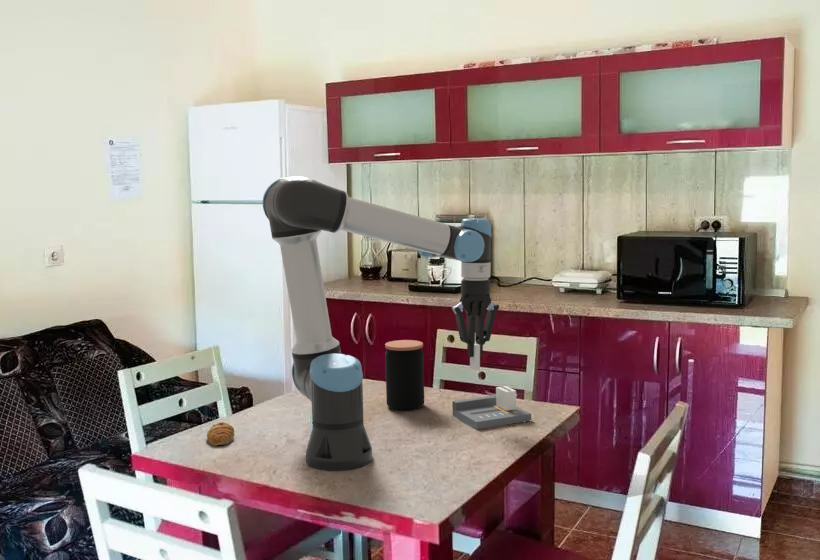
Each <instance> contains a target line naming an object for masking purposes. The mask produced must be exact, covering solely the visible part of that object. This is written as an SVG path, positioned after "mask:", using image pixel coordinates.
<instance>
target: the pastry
mask: <svg viewBox="0 0 820 560" xmlns="http://www.w3.org/2000/svg"><path fill="white" fill-rule="evenodd" d="M206 434H207V435H206V439H207V441H208V442H209V444H210V445H212V446H214V447H215V446H219V445H220V446H221V445H228V444H229V443H231V442H232V441H233V440H234V437H235V428H234V427H233V426H232V425H230V424H229V423H227V422H223V421H222V422H221V421H220V422H216V423H215V424H213V425H212V426H211V427H209V430H208V431H207V433H206Z"/></svg>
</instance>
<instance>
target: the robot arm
mask: <svg viewBox="0 0 820 560" xmlns="http://www.w3.org/2000/svg"><path fill="white" fill-rule="evenodd" d="M262 209H263V212H264V215H265V216H266V218H267V220H268V221H269V223H268V224H269V227H270V232H271V239H272V240H274V241H275V242H276V243H277V244H278V245H279V247H280V254H281V258H282V264H283V270H284V276H285V281H286V283H285V284H286V287H287V289H286V290H287V295H288V301H289V307H290V313H291V318H292V322H293V329H294V334H295V335H294V336H295V340H296V342H295V344H294V345H293V347H292V349H291V355H292V362H293V363H292V365H291V377H292V381H293V384H294V385H295V388H296V389H297V390H298V392H299V393H300V394H302V396H304V397H305V398H307V399H308V400H309V401H310V402H311V418H312V419H311V420H312V421H311V423H312V427H311V428H312V429H311V432H310V437H309V439H308V443H307V447H306V450H305V462H306V464H307V465H308V466H309V467H312V468H315V469H318V470H323V471H324V470H325V471H345V470H352V469H356V468H360V467H362V466H365V465H367V464H369V463H370V462H372V460H373V447H372V444H371V442H370V441H371V440H370V438H369V436H368V432H367V430H366V428H365V424H364V420H365V419H364V396H363V395H364V394H363V393H364V390H363V389H364V388H363V378H364V374H363V370H362V364H361V361H360V360H359V359H358V358H356V357H354V356H352V355H350V354H345V353H342V351H341V345H340V341H339V340H338V339H336V338H335V337H333V335H332V328H331V322H330V317H329V311H328V310H329V309H328V305H327V304H328V303H327V298H326V291H325V285H324V279H323V274H322V268H321V267H322V266H321V260H320V255H319V254H320V253H319V250H318V249H319V248H318V244H317V243H318V242H317V238H318V237H319V235H320V234H321V232H322V231H324V232H329V233H333V234H337V233H338V232H340V231H343V232H348V233H351V234H353V235H354V234H355V235H359V236H363V237H365V238H366V237H367V238H370V239H371V238H372V239H374V240H377V241H382V242H385V243H390V244H394V245H398V246H402V247H407V248H410V249H413V250H417V252H418V255H419V256H420V257H422V258H423V257H424V258H431V259H432V258H444V259H449V260H454V261H459V262H461V263H460V264H461V265H460V267H461V269H460V270H461V272H460V273H461V274H460V275H461V277H462V279H461V280H460V284H461V285H460V286H461V287H460V294H461V296H460V298H459V302H458V304H456V305H452V306H451V310H452V313H453V314H454V317H455V320H456V327H457V331H458V334H459V338H460V342H463V343H465V344H466V345H467V347H466V349H467V350H466V352H467V353H466V355H467V357H469V369H472V370H474V371H477V370H478V371H479V370H481V369H480V368H481V357H482V356H483V355H484V354H483V353H484V351H483V350H484V345H485V344H486V342H490V340H491V336H492V330H493V327H494V323H495V319H496V314H497V312H498V311H499V310H500V305H499V304H496V303H495V302H493V301H492V298H491V295H490V294H491V280H490V279H489V278H490V277H491V271H492V270H491V268H492V267H491V265H492V263H491V261H492V259H491V258H492V257H491V255H492V253H491V251H492V238H493V237H492V226H491V225H492V224H491V221H490V220H489V219H487V218H477V217H475V218H463V219H462V220H461V225H460V226H456V225H455V226H454V225H451V224H447V223H443V222H440V221H436V220H433V219H429V218H426V217H421V216H418V215H415V214H411V213H407V212H404V211H401V210H397V209H393V208H389V207H386V206H382V205H379V204H375V203H371V202H368V201H364V200H361V199H357V198H354V197H350V196H349V195H348V192H347V191H346V190H341V189H338V188H335V187H332V186H331V185H327V184H324V183H322V182H320V181H317V180H315V179H312V178H309V177H306V176H284V177H280V178H279V179H276V180H275V181H273V182H272V183H271V184H269V186H268V187H267V188H266V190H265V191H264V193H263V197H262ZM463 311H464V312H465V316H464V314H463ZM486 311H487V312H486ZM464 317H466V322H465V318H464Z"/></svg>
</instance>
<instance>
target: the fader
mask: <svg viewBox="0 0 820 560" xmlns="http://www.w3.org/2000/svg"><path fill="white" fill-rule="evenodd" d="M495 395H496V406H498V407H500V408H502V409H504V410H506V411H508V410H515V409H516V407H517V390H515V389H513V388H511V387H509V386H507V385H504V386H503V385H502V386H497V387H496V386H495Z"/></svg>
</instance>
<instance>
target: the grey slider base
mask: <svg viewBox="0 0 820 560" xmlns="http://www.w3.org/2000/svg"><path fill="white" fill-rule="evenodd" d="M452 416H453V417H454V418H456V419H458V420H459V421H461V422H463V423H464V424H466V425H468V426H470V427H471V428H473V429H475V430H476V431H477V430H482V429H483V430H484V429H489V428H496V427H502V425H503V426H507V425H506V424H510V425H512V424H511V423H516V424H520V423H519V422H523V423H525V422H524V421H529V422H531V421H532V413H531V412H528V411H526V410H524V409H522V408H520V407H519V406H516V409H515V410H508V411H506V410H504V409H502V408H500V407H498V406H496V394H495V395H487V396H480V397H474V398H473V397H472V398H465V399H456V400H452ZM530 420H531V421H530Z"/></svg>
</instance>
